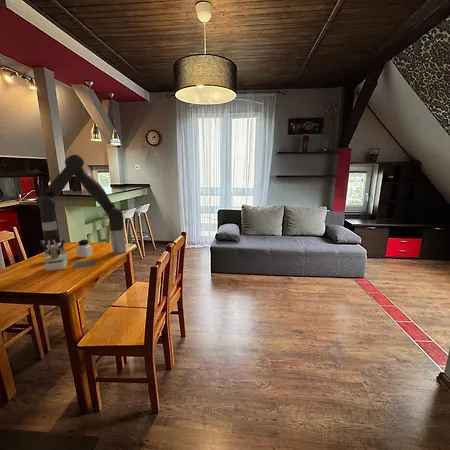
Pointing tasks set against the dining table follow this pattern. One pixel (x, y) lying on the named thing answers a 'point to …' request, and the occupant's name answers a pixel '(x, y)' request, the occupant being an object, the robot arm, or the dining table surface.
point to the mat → (84, 264)
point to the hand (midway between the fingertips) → (55, 255)
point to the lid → (54, 256)
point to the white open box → (56, 265)
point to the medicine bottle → (84, 248)
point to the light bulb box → (54, 247)
